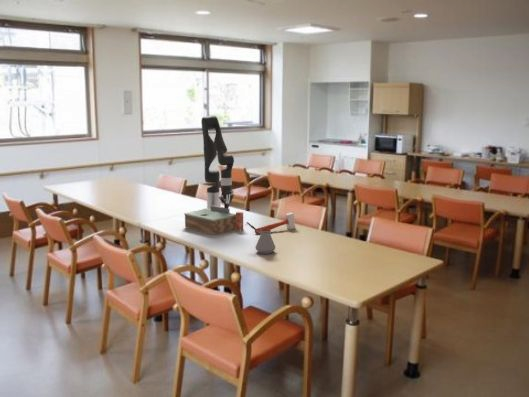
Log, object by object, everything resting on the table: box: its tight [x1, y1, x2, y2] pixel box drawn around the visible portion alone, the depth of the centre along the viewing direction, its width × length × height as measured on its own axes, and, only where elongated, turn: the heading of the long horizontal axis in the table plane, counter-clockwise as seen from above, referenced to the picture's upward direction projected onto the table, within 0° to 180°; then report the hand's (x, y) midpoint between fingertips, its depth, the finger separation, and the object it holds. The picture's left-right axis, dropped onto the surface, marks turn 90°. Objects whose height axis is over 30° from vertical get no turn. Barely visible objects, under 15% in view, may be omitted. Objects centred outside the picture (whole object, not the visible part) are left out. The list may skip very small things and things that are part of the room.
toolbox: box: [184, 215, 236, 236], centre depth 352 cm, size 20×28×9 cm
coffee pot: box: [244, 221, 276, 255], centre depth 304 cm, size 21×12×15 cm, turn 46°
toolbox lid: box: [183, 205, 236, 221], centre depth 351 cm, size 21×28×4 cm
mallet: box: [254, 212, 296, 235], centre depth 347 cm, size 11×4×30 cm
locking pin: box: [235, 211, 244, 232], centre depth 349 cm, size 3×3×12 cm
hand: (226, 208), depth 362 cm, fingers closed
